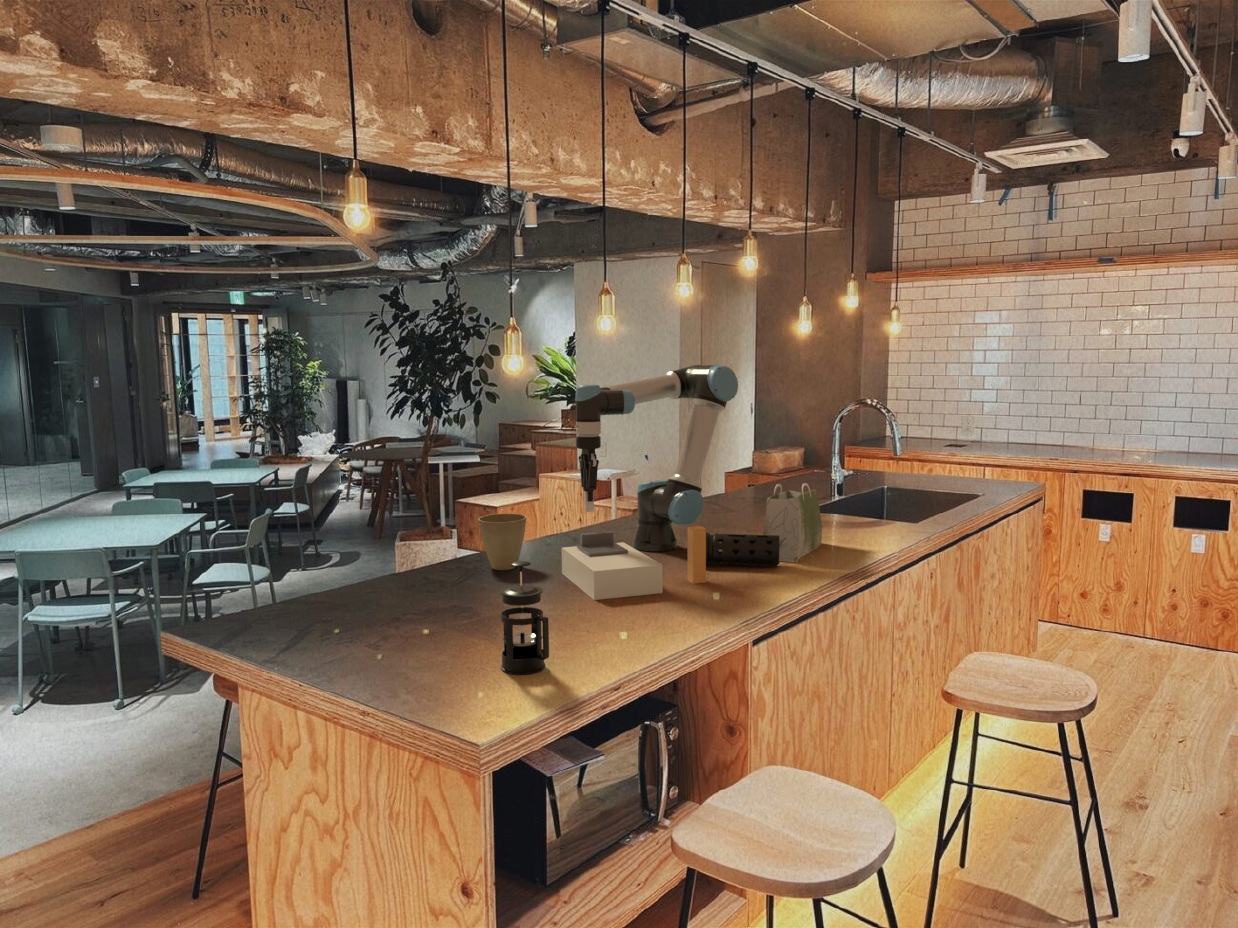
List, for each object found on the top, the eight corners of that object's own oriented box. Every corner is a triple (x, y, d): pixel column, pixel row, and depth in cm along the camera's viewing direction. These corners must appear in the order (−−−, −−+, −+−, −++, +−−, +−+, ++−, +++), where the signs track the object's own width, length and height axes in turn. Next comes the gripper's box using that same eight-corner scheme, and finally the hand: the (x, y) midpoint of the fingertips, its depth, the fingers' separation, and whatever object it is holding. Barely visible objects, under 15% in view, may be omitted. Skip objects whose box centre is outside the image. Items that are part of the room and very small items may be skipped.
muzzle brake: (778, 571, 275) (778, 537, 274) (687, 567, 281) (687, 535, 279) (779, 563, 284) (779, 531, 283) (690, 560, 290) (691, 529, 289)
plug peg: (687, 580, 264) (687, 526, 262) (700, 579, 266) (700, 525, 264) (693, 583, 261) (693, 529, 259) (705, 582, 262) (705, 528, 260)
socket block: (561, 573, 274) (561, 547, 273) (623, 567, 281) (623, 542, 280) (594, 599, 244) (593, 571, 244) (662, 592, 251) (662, 564, 250)
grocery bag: (784, 540, 320) (785, 475, 317) (823, 543, 313) (824, 477, 311) (756, 558, 291) (756, 488, 288) (798, 563, 285) (799, 490, 282)
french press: (489, 669, 192) (486, 563, 189) (517, 656, 200) (514, 554, 197) (533, 679, 185) (531, 570, 183) (560, 666, 193) (558, 561, 190)
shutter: (576, 547, 272) (576, 533, 271) (614, 544, 276) (614, 531, 275) (588, 556, 261) (588, 541, 260) (627, 552, 265) (627, 538, 264)
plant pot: (489, 561, 291) (487, 512, 289) (533, 562, 288) (532, 513, 286) (472, 572, 277) (471, 521, 275) (518, 574, 274) (517, 522, 272)
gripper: (570, 434, 280) (571, 508, 283) (582, 437, 268) (583, 515, 271) (593, 433, 283) (594, 507, 286) (606, 436, 271) (607, 514, 273)
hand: (589, 511), depth 278 cm, fingers closed
